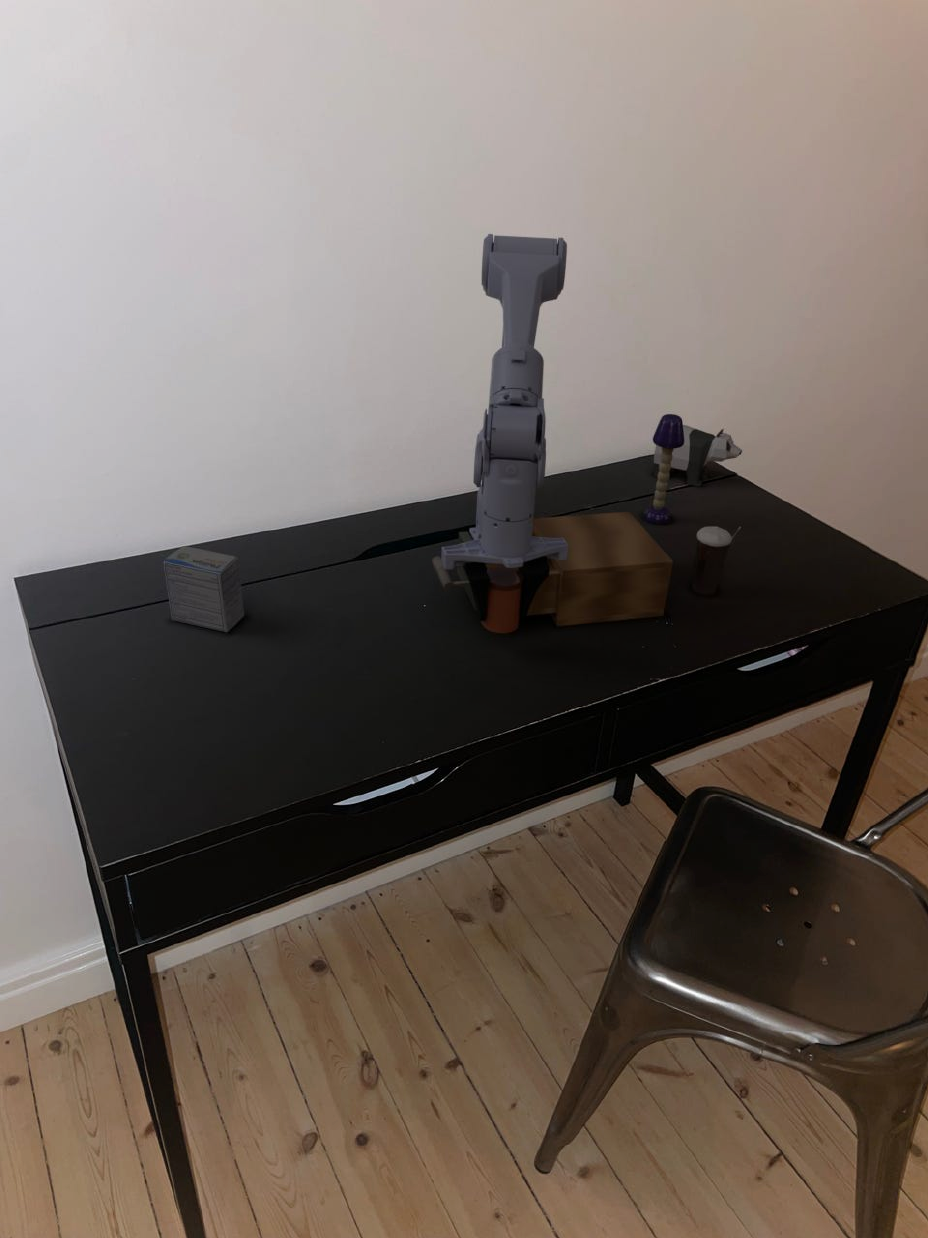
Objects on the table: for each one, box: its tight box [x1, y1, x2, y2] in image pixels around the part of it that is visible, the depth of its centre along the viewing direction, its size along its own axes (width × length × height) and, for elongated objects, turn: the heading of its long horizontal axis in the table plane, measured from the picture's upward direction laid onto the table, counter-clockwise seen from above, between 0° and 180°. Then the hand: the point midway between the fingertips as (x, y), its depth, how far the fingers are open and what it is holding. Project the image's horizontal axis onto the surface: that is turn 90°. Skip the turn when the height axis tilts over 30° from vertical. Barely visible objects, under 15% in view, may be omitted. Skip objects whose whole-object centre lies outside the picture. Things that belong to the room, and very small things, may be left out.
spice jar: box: [481, 567, 524, 634], centre depth 113 cm, size 5×5×6 cm
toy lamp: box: [643, 413, 684, 525], centre depth 145 cm, size 5×5×17 cm
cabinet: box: [532, 511, 674, 627], centre depth 127 cm, size 15×15×8 cm
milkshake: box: [691, 525, 742, 596], centre depth 128 cm, size 4×5×10 cm
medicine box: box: [162, 545, 245, 633], centre depth 117 cm, size 8×4×9 cm, turn 71°
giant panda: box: [653, 424, 743, 488], centre depth 160 cm, size 15×6×10 cm, turn 61°
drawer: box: [431, 530, 561, 626], centre depth 124 cm, size 18×13×6 cm
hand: (500, 614), depth 114 cm, fingers closed on spice jar, 4 cm apart
